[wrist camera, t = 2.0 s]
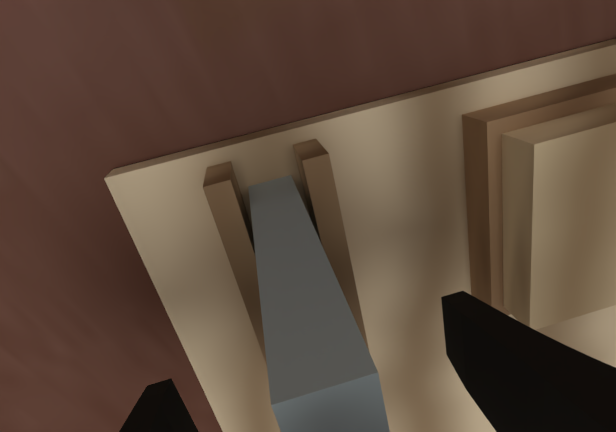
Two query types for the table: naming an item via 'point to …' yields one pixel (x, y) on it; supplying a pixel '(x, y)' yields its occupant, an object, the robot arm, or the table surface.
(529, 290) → the offcut top
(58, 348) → the table surface
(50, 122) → the table surface
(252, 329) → the rack
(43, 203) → the table surface
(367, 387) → the grey blue slab
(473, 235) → the plate
